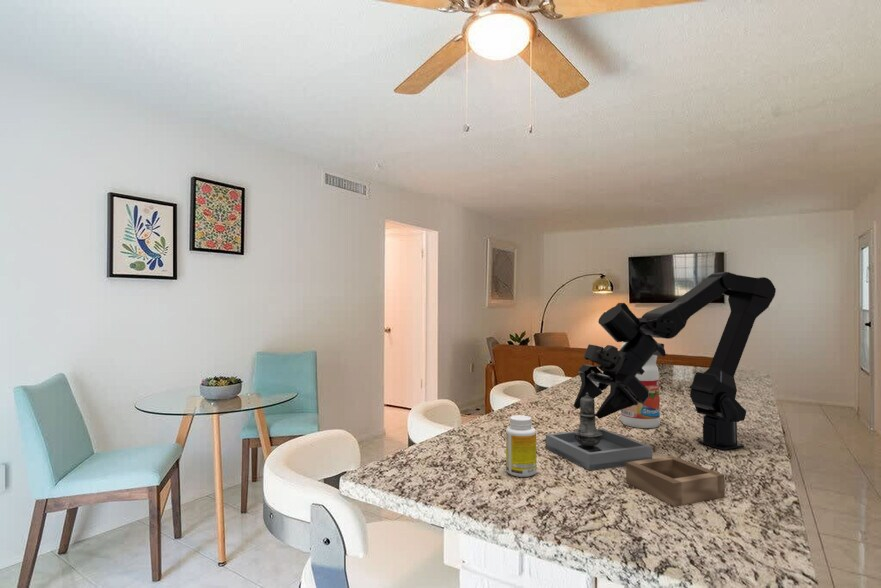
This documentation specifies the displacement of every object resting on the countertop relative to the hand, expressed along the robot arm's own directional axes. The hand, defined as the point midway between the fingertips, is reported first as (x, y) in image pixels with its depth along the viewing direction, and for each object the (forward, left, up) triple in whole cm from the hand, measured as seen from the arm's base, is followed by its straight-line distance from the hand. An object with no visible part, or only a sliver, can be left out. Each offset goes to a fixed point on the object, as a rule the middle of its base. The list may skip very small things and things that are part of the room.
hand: (585, 412), depth 98 cm
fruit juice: (-29, -17, -9) cm, 35 cm away
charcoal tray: (-2, 0, -9) cm, 9 cm away
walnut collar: (-2, +20, -9) cm, 22 cm away
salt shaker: (0, 0, -8) cm, 8 cm away
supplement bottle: (+18, +4, -9) cm, 21 cm away
